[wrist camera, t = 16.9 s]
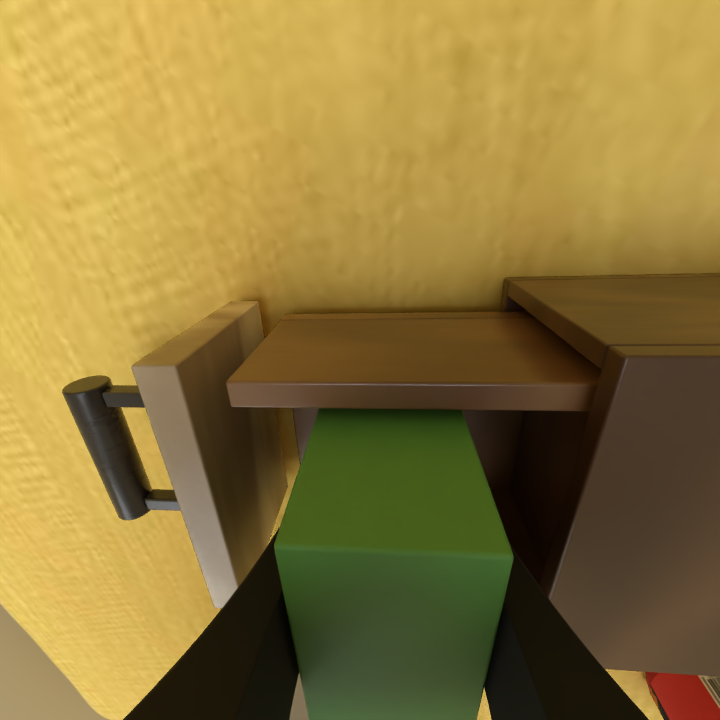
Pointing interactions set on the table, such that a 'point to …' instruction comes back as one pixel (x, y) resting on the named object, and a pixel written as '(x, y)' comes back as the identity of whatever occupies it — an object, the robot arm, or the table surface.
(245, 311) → the drawer
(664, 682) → the canned food
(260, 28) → the table surface
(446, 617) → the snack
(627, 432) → the cabinet
